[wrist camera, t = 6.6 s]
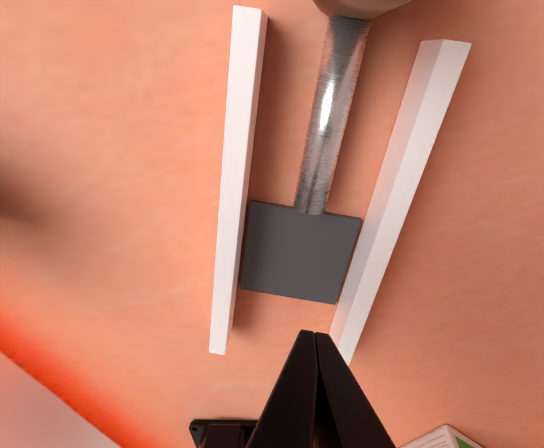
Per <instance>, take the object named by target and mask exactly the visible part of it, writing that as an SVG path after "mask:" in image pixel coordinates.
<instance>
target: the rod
mask: <svg viewBox="0 0 544 448" xmlns="http://www.w3.org/2000/svg"><path fill="white" fill-rule="evenodd" d="M370 25H371V23H370V22H368V21H364V20H359V19H354V18H347V17H337V16H330V17H329V21H328V26H327V31H326V36H325V41H324V47H323V52H322V57H321V62H320V68H319V73H318V78H317V83H316V88H315V94H314V99H313V104H312V109H311V115H310V120H309V125H308V130H307V135H306V141H305V146H304V151H303V156H302V162H301V167H300V172H299V177H298V182H297V188H296V193H295V198H294V203H293V206H294V208H295V209H296V210H298V211H299V212H302V213H305V214H309V215H320V214H323V213H324V212H325V208H326V204H327V200H328V196H329V192H330V188H331V184H332V180H333V176H334V172H335V168H336V164H337V160H338V155H339V151H340V147H341V143H342V139H343V135H344V131H345V127H346V123H347V119H348V115H349V111H350V107H351V103H352V98H353V94H354V90H355V86H356V82H357V78H358V74H359V70H360V66H361V62H362V58H363V54H364V50H365V46H366V41H367V37H368V33H369V29H370Z"/></svg>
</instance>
